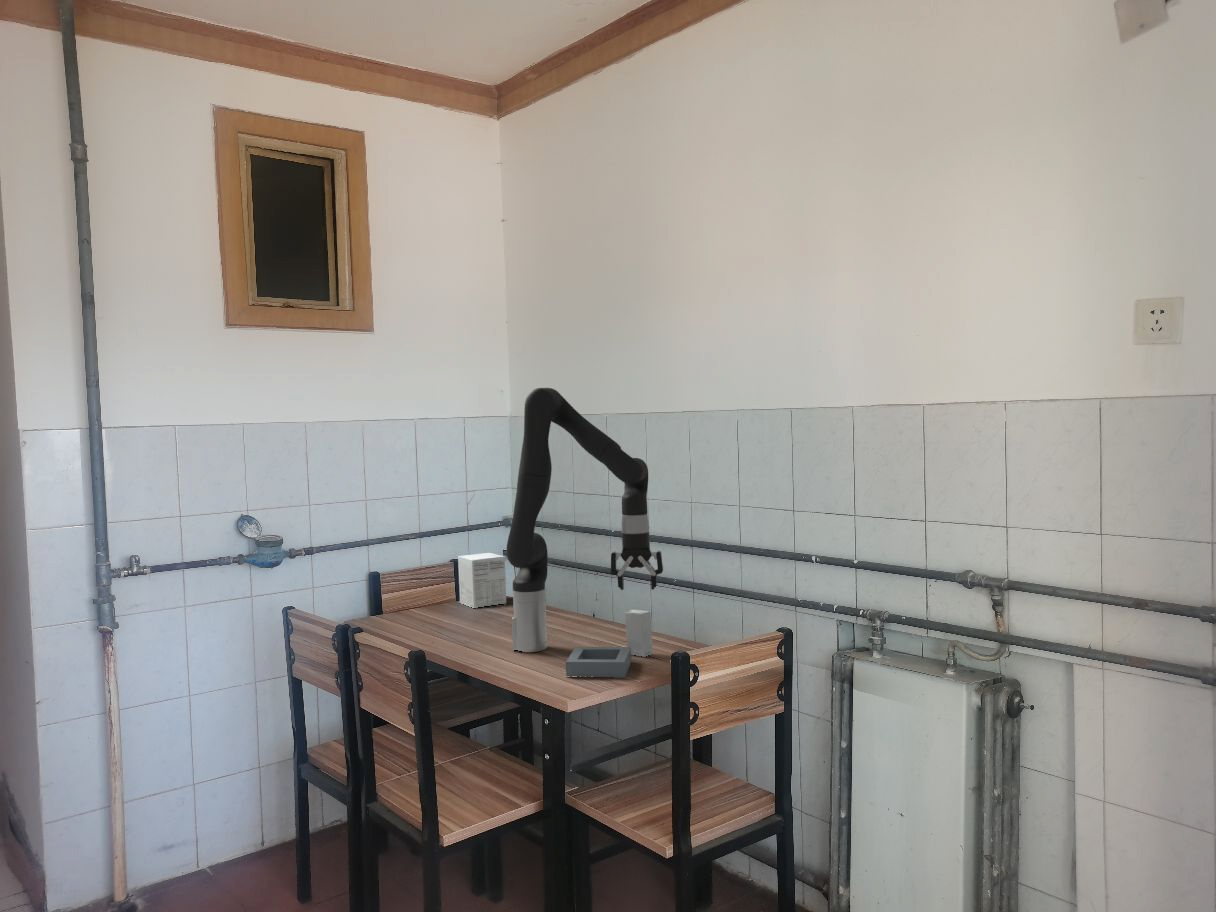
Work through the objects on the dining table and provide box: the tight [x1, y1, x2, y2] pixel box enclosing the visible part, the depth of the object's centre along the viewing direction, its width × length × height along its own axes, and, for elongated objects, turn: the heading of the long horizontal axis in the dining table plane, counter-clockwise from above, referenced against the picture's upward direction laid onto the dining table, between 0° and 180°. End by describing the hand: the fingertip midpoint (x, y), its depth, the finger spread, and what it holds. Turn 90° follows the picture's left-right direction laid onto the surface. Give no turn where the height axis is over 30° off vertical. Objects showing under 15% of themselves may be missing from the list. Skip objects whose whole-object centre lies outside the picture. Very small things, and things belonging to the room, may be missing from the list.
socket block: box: [565, 646, 632, 679], centre depth 237 cm, size 15×15×4 cm
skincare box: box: [624, 609, 654, 658], centre depth 250 cm, size 6×4×12 cm
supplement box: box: [457, 552, 507, 609], centre depth 328 cm, size 13×13×18 cm
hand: (637, 589), depth 250 cm, fingers open, 8 cm apart
